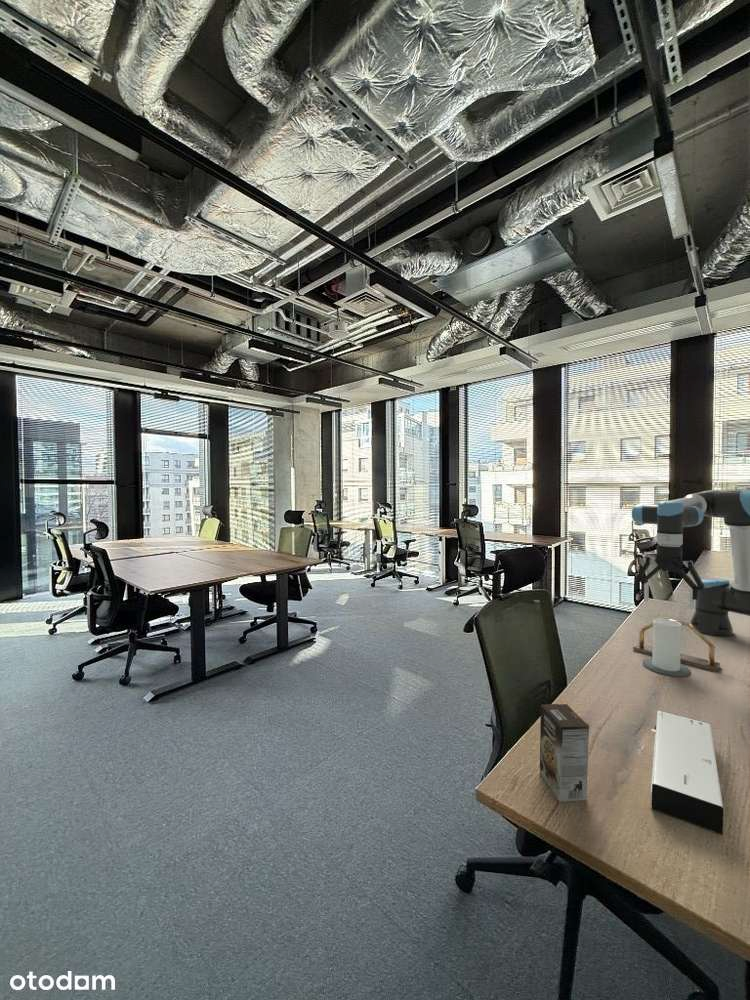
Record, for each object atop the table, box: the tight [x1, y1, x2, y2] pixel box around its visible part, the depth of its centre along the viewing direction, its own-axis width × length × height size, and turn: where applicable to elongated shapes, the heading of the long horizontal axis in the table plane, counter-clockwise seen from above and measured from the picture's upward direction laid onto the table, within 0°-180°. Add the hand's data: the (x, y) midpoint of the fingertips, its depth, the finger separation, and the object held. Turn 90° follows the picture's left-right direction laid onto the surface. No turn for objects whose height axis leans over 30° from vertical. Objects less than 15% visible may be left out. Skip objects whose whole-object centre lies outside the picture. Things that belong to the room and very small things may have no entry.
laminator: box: [650, 709, 724, 836], centre depth 97 cm, size 34×12×6 cm, turn 145°
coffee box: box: [539, 703, 590, 803], centre depth 92 cm, size 9×6×16 cm
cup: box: [651, 618, 682, 671], centre depth 152 cm, size 8×8×16 cm
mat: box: [642, 657, 691, 678], centre depth 152 cm, size 14×14×1 cm
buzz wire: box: [632, 617, 721, 673], centre depth 160 cm, size 6×26×15 cm, turn 43°
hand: (668, 604), depth 152 cm, fingers open, 13 cm apart
